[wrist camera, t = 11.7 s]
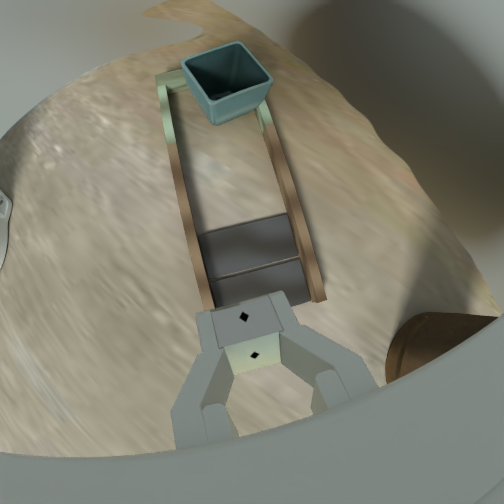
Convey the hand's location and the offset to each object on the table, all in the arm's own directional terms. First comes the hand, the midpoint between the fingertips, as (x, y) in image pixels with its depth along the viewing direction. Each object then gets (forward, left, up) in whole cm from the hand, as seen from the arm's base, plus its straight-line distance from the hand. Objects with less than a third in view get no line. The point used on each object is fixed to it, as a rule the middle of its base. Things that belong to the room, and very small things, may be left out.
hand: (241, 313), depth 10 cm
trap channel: (-9, +11, -27) cm, 31 cm away
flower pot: (-20, +18, -28) cm, 39 cm away
